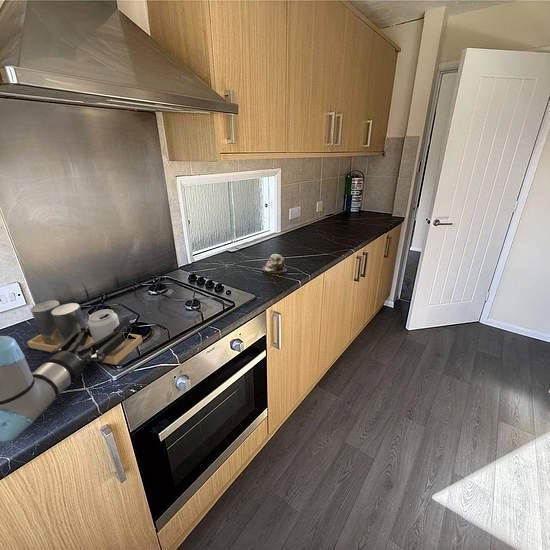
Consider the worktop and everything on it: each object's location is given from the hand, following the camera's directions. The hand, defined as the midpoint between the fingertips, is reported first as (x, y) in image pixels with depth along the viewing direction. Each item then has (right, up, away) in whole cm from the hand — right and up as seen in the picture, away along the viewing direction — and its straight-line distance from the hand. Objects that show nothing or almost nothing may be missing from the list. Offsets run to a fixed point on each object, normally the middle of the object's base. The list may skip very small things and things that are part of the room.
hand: (116, 321), depth 89 cm
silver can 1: (-21, -6, +4) cm, 22 cm away
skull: (+48, +16, +53) cm, 74 cm away
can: (0, -8, -2) cm, 8 cm away
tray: (-10, -8, +1) cm, 12 cm away
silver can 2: (-13, -7, +2) cm, 15 cm away
